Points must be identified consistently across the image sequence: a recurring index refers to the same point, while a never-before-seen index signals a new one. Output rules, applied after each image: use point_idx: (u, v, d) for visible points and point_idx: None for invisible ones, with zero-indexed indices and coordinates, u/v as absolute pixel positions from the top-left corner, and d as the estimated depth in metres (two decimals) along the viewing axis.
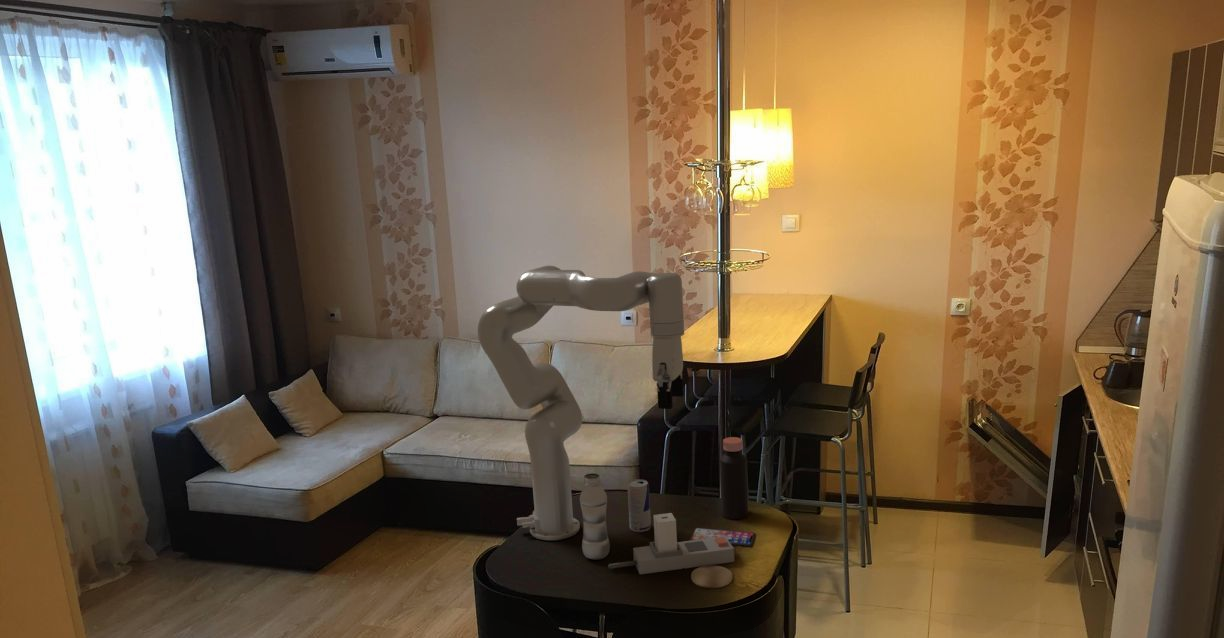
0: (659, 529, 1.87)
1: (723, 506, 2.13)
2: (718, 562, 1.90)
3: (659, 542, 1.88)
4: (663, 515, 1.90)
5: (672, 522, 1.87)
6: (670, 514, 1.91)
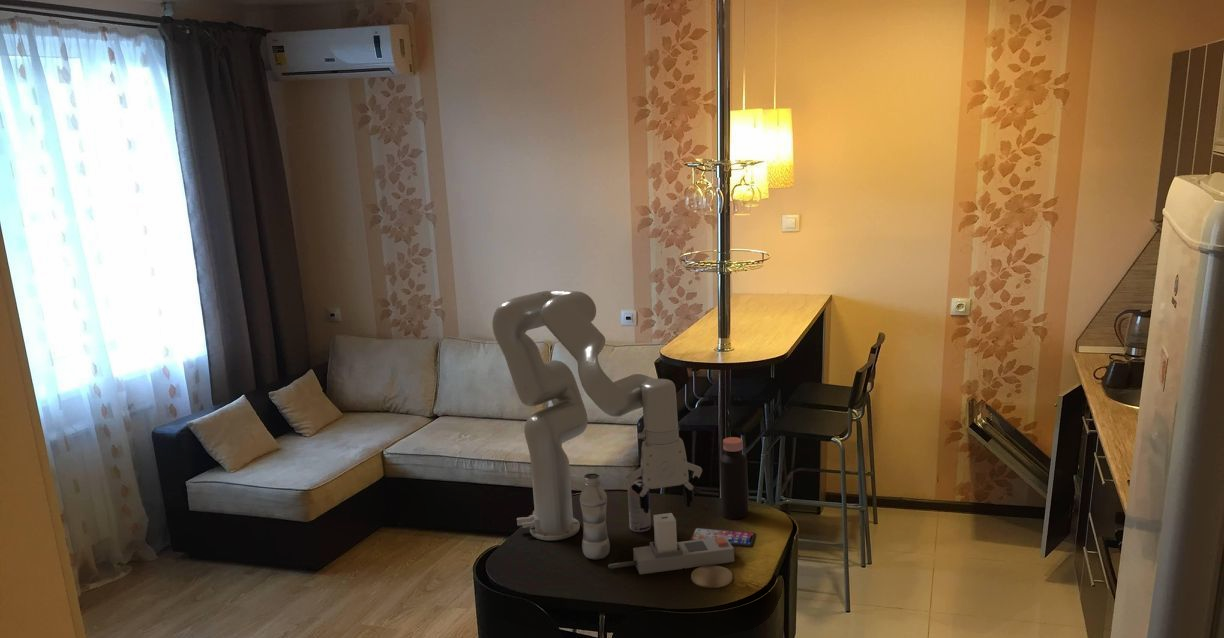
0: (659, 529, 1.87)
1: (723, 506, 2.13)
2: (718, 562, 1.90)
3: (659, 542, 1.88)
4: (663, 515, 1.90)
5: (672, 522, 1.87)
6: (670, 514, 1.91)
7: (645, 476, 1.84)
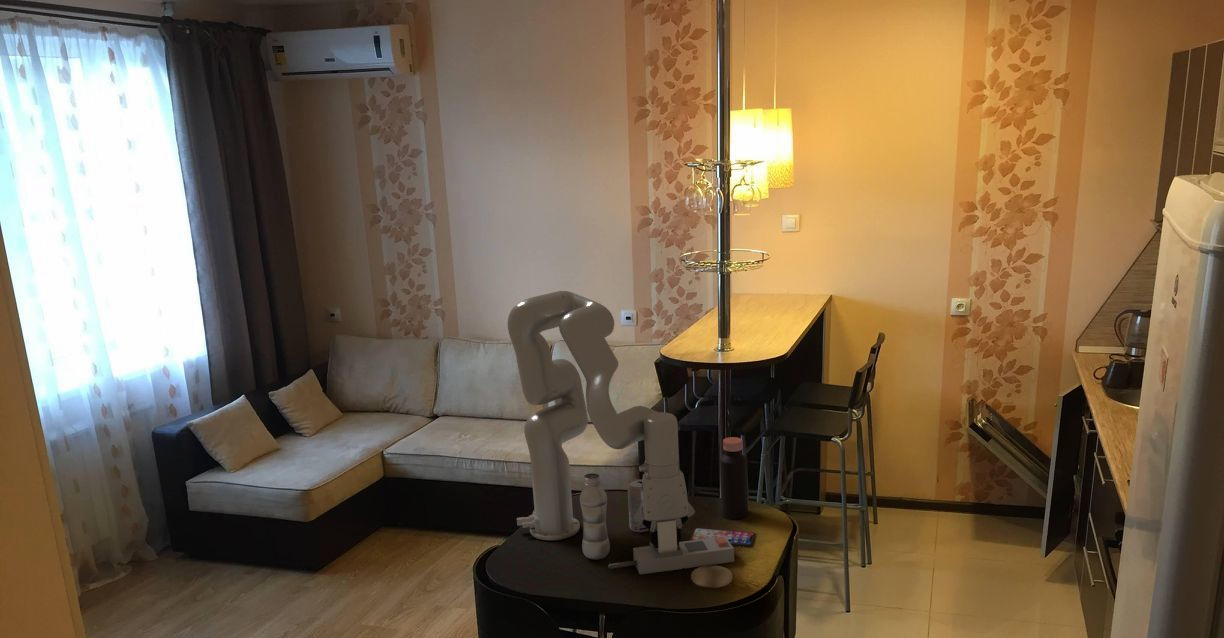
0: (659, 529, 1.87)
1: (723, 506, 2.13)
2: (718, 562, 1.90)
3: (659, 542, 1.88)
4: None
5: (672, 522, 1.87)
6: None
7: (645, 509, 1.85)
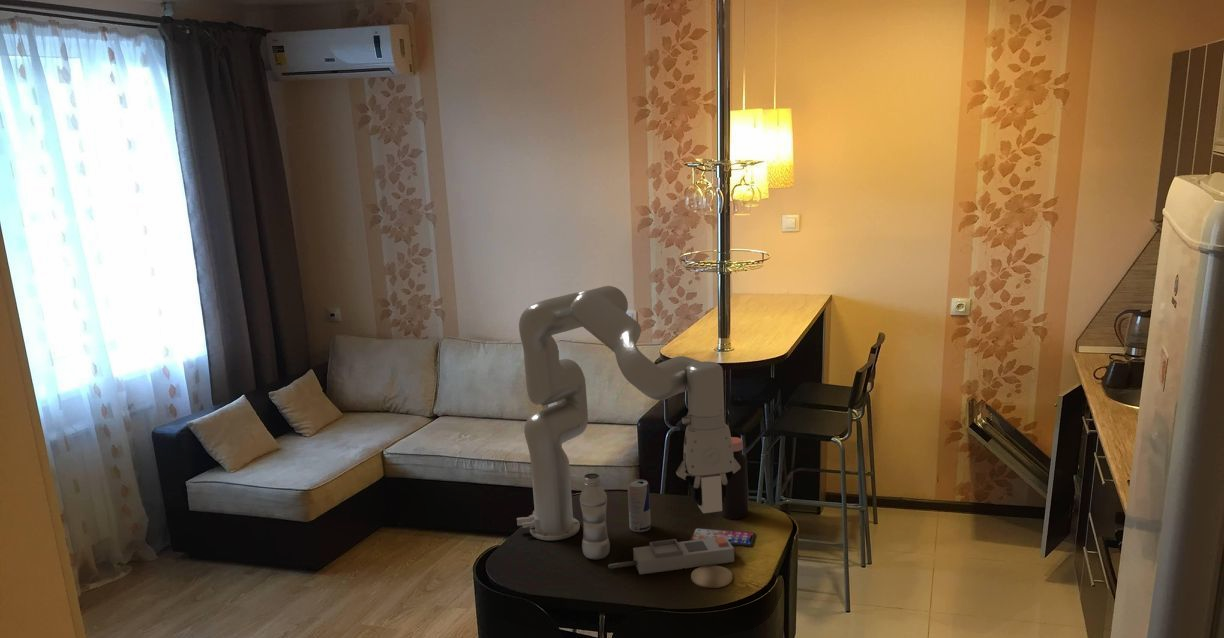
0: (703, 485, 1.77)
1: (723, 506, 2.13)
2: (718, 562, 1.90)
3: (703, 499, 1.78)
4: None
5: (717, 478, 1.77)
6: None
7: (689, 463, 1.75)
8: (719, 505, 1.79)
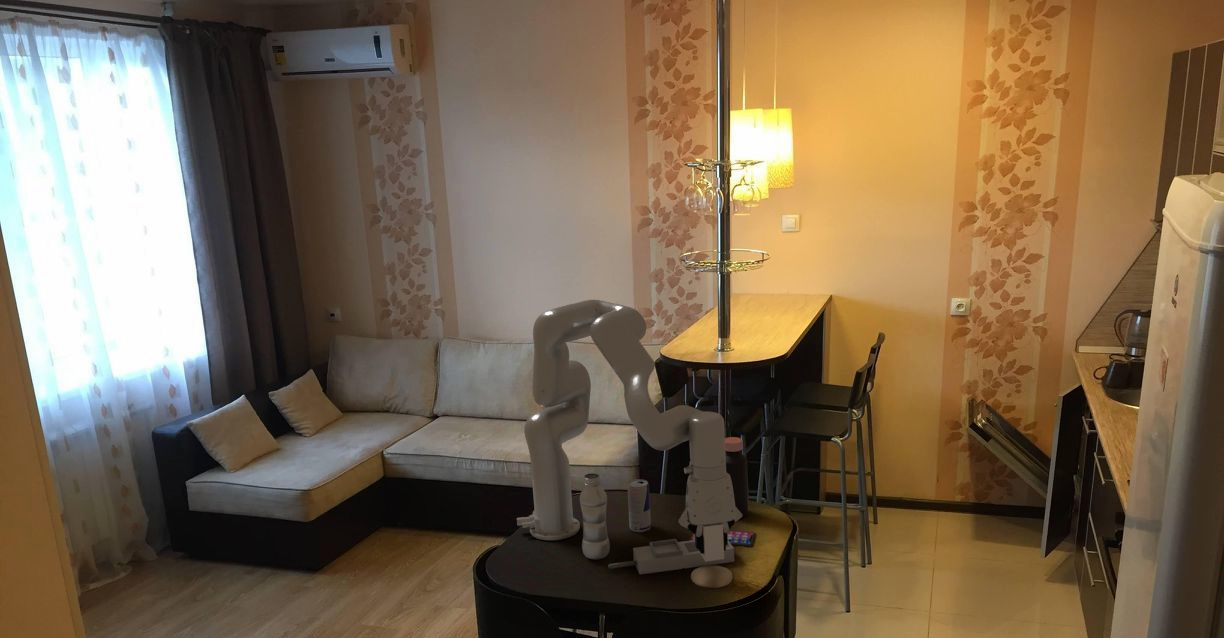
0: (705, 533, 1.79)
1: None
2: (718, 562, 1.90)
3: (705, 547, 1.80)
4: None
5: (718, 526, 1.79)
6: None
7: (691, 512, 1.77)
8: (721, 553, 1.81)
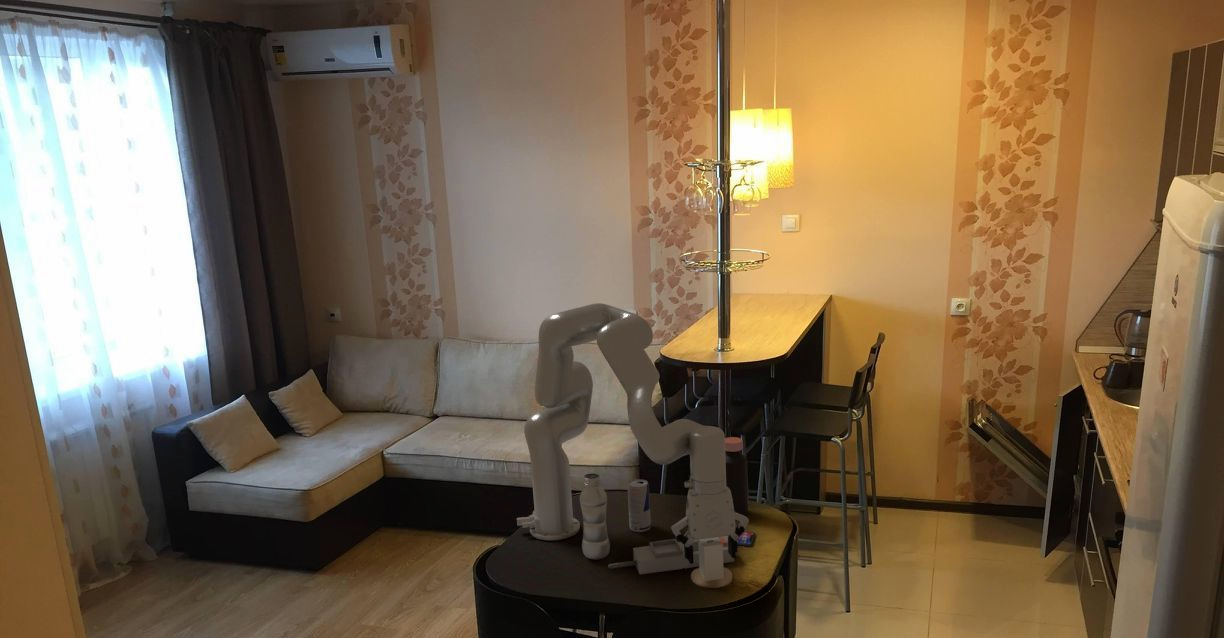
0: (705, 553, 1.80)
1: None
2: None
3: (705, 567, 1.81)
4: (708, 538, 1.83)
5: (718, 546, 1.81)
6: (715, 537, 1.84)
7: (691, 526, 1.78)
8: (721, 573, 1.82)
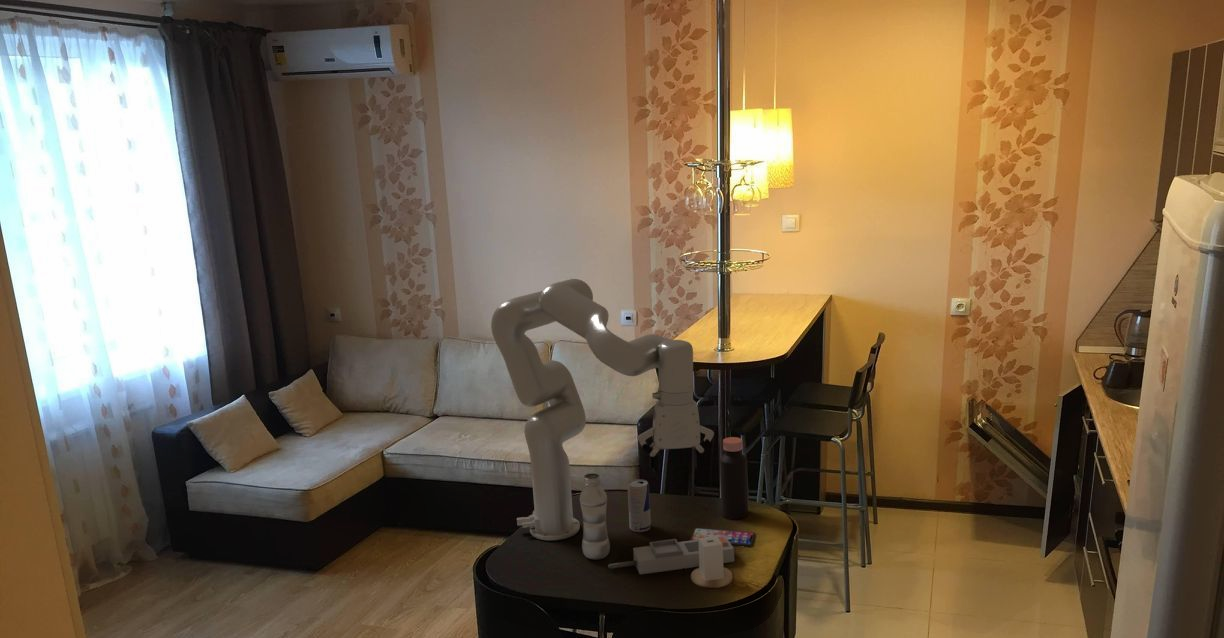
0: (705, 553, 1.80)
1: (723, 506, 2.13)
2: None
3: (705, 567, 1.81)
4: (708, 538, 1.83)
5: (718, 546, 1.81)
6: (715, 537, 1.84)
7: (657, 436, 1.83)
8: (721, 573, 1.82)
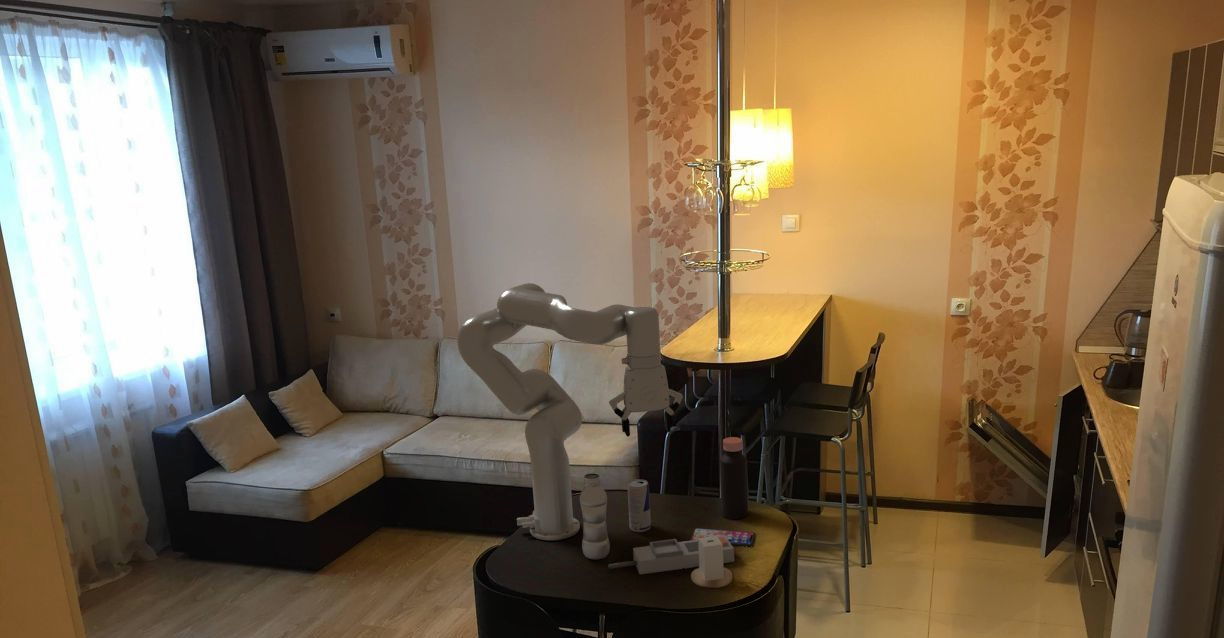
0: (705, 553, 1.80)
1: (723, 506, 2.13)
2: None
3: (705, 567, 1.81)
4: (708, 538, 1.83)
5: (718, 546, 1.81)
6: (715, 537, 1.84)
7: (627, 400, 1.90)
8: (721, 573, 1.82)
